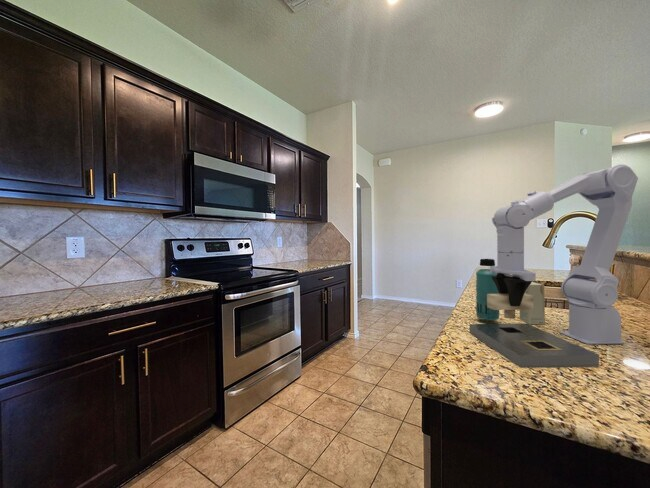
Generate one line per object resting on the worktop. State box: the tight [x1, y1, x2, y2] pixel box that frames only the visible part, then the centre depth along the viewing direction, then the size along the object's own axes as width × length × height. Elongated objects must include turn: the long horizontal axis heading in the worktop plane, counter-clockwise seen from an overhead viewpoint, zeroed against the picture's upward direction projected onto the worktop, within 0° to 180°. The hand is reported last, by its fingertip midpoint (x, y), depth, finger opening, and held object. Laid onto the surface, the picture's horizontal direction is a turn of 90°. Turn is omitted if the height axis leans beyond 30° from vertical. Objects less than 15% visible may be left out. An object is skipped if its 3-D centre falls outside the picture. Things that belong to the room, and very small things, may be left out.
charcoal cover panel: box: [469, 322, 600, 368], centre depth 65 cm, size 16×20×3 cm
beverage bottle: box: [475, 258, 501, 321], centre depth 84 cm, size 6×7×20 cm
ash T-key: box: [487, 293, 533, 320], centre depth 70 cm, size 10×3×6 cm, turn 89°
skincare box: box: [519, 281, 546, 326], centre depth 84 cm, size 6×4×12 cm
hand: (510, 304), depth 70 cm, fingers closed on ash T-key, 3 cm apart
